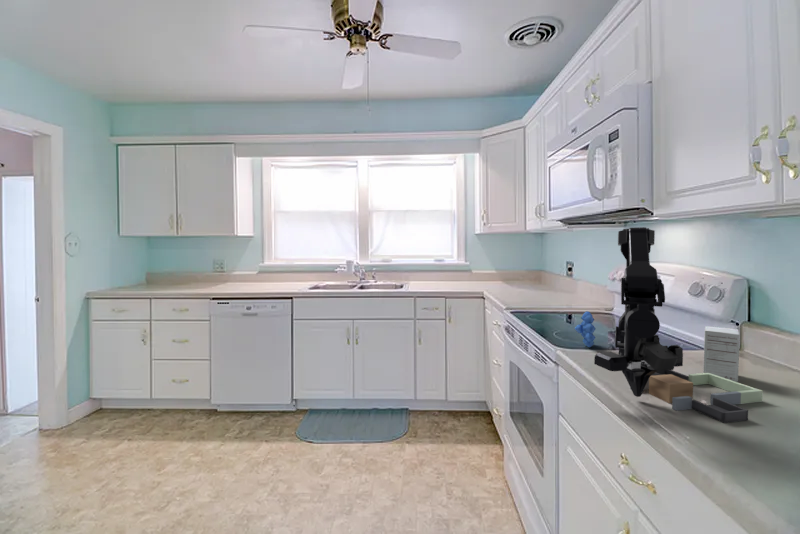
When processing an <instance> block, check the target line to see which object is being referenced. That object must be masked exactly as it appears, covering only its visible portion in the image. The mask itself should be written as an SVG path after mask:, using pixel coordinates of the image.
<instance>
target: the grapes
mask: <svg viewBox="0 0 800 534" xmlns="http://www.w3.org/2000/svg"><path fill="white" fill-rule="evenodd" d="M580 319H581V320H582V321H581V322H580V323H579V324H577V325H576V326H575V327H574V330H575V331H576V333H578V334H580V335H581V336H582V338H583V339H582V341H581V342H582V343H583V344H584V345H585V346H586V347H587V348H591V347H592V346H594V344H595V342H594V341H595V339H596V336H595V335H594V332H595V331H596V327H595V326H594V325H593V323H594V321H595V319H594V318H593V314H592V313H591V312H590V311H588V310H586V311H585V312H584V313H583V314H582V316H581V317H580Z"/></svg>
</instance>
